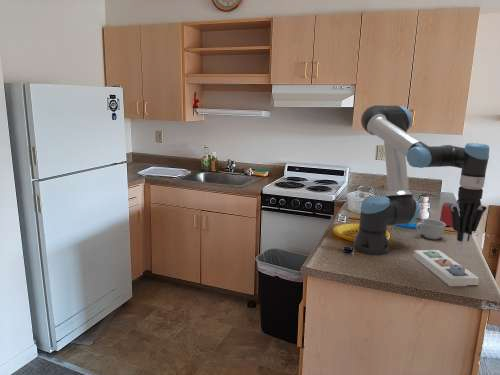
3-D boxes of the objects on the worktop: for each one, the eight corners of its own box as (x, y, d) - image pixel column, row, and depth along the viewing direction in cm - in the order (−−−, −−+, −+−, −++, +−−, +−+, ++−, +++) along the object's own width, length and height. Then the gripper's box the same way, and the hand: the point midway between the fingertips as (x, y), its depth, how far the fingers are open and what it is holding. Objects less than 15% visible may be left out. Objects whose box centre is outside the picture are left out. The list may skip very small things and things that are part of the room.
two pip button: (454, 277, 142) (455, 269, 142) (446, 271, 147) (447, 264, 147) (466, 277, 143) (468, 269, 142) (458, 271, 148) (459, 263, 147)
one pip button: (429, 262, 158) (430, 255, 157) (423, 257, 163) (424, 250, 162) (441, 262, 159) (442, 255, 158) (434, 257, 164) (435, 250, 163)
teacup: (438, 234, 194) (441, 219, 192) (447, 242, 184) (449, 226, 182) (410, 232, 196) (412, 217, 194) (417, 240, 185) (419, 224, 183)
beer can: (436, 223, 211) (440, 202, 208) (448, 223, 212) (451, 202, 209) (443, 227, 205) (447, 205, 202) (455, 227, 205) (459, 205, 202)
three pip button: (441, 271, 151) (442, 263, 150) (434, 265, 155) (435, 258, 155) (453, 271, 151) (454, 263, 150) (445, 265, 156) (446, 258, 155)
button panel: (449, 286, 140) (451, 278, 140) (413, 256, 165) (414, 250, 165) (477, 285, 141) (479, 278, 141) (437, 256, 166) (438, 250, 166)
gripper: (460, 189, 133) (450, 253, 138) (495, 189, 134) (484, 252, 139) (447, 184, 140) (438, 245, 145) (481, 184, 141) (471, 245, 147)
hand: (461, 249), depth 142 cm, fingers closed
